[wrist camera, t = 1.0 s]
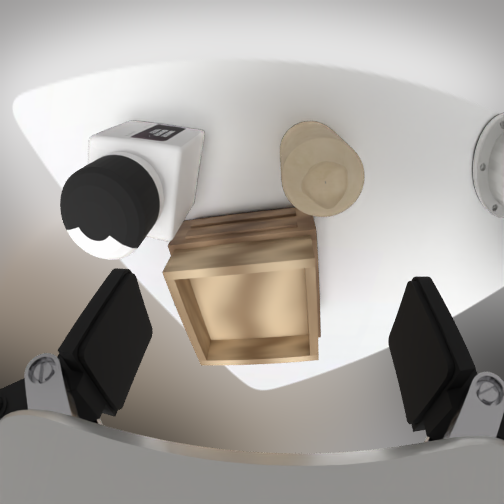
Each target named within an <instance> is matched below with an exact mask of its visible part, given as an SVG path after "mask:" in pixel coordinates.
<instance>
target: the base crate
mask: <svg viewBox="0 0 504 504" xmlns="http://www.w3.org/2000/svg"><path fill="white" fill-rule="evenodd" d="M309 235H311V240H312V245H313V251H314V256H315V270H316V289H317V315H318V337H321V329H320V292H319V269H318V250H317V234H316V227H315V222H314V218H313V216H312V215H308V214H306V213H304V212H302V211H300V210H298V209H297V208H296V207H291V208H282V209H273V210H264V211H256V212H247V213H239V214H231V215H223V216H215V217H208V218H200V219H193V220H186V221H183V223H182V224H181V226H180V228H179V229H178V231H177V233H176V234H175V236H174V238H173V240H171V241H170V243H169V244H168V248H169V251H170V254H171V255H172V253H173V251H174V250H177V249H186V248H195V247H204V246H213V245H222V244H232V243H241V242H250V241H260V240H269V239H279V238H289V237H299V236H309Z"/></svg>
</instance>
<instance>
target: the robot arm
mask: <svg viewBox="0 0 504 504" xmlns="http://www.w3.org/2000/svg"><path fill="white" fill-rule="evenodd" d="M473 180H474V186H475V190H476V193H477V196H478V198H479V200H480V201H481V203H482V205H483V206H484V207H485V208H486V209H487V210H488V211H489V212H490V213H492V214H493V215H495V216H497V217H500V218H504V113H502V114H499V115H497V116H496V117H495V118H493V119H492V120H491V121H490V122H489V123H488V124H487V126H486V127H485V128H484V130H483V132H482V134H481V136H480V138H479V141H478V143H477V146H476V150H475V154H474V162H473ZM151 337H152V326H151V323H150V320H149V317H148V314H147V311H146V308H145V305H144V302H143V299H142V295H141V292H140V289H139V285H138V282H137V278H136V276H135V274H133V273H132V272H131V271H130V270H129V269H114V270H112V271H111V273H110V274H109V275H108V277H107V278H106V280H105V281H104V282H103V284H102V285H101V286H100V288H99V289H98V291H97V292H96V294H95V295H94V296H93V298H92V299H91V301H90V302H89V304H88V305H87V307H86V308H85V310H84V311H83V312H82V314H81V315H80V317H79V318H78V320H77V321H76V323H75V324H74V326H73V327H72V329H71V330H70V332H69V333H68V335H67V337H66V338H65V340H64V341H63V343H62V345H61V346H60V348H59V349H58V351H59V355H58V357H56V356H55V355H53V354H50V353H44V354H40V355H38V356H36V357H35V358H33V359H32V360H31V361H30V362H29V364H28V365H27V367H26V370H25V378H24V379H22V380H20V381H17V382H15V383H13V384H11V385H8V386H6V387H4V388H2V389H0V504H504V382H503V381H502V380H501V378H500V377H498V376H497V375H495V374H493V373H491V372H482V373H479V374H477V372H476V369H475V365H474V363H473V361H472V358H471V356H470V354H469V351H468V349H467V347H466V345H465V343H464V341H463V338H462V336H461V334H460V332H459V330H458V328H457V326H456V324H455V322H454V320H453V318H452V316H451V314H450V312H449V310H448V308H447V306H446V305H445V303H444V301H443V299H442V297H441V295H440V293H439V292H438V290H437V288H436V286H435V284H434V283H433V281H432V279H431V278H430V277H414V278H413V279H412V281H409V282H408V283H407V286H406V289H405V292H404V295H403V298H402V301H401V304H400V307H399V310H398V313H397V316H396V319H395V322H394V324H393V327H392V330H391V332H390V335H389V348H390V352H391V355H392V359H393V363H394V367H395V370H396V374H397V378H398V382H399V387H400V391H401V395H402V400H403V404H404V409H405V413H406V418H407V422H408V423H409V424H412V428H413V432H414V431H420V430H426V434H427V438H426V440H425V441H424V443H419V444H412V445H406V446H399V447H391V448H384V449H376V450H366V451H355V452H341V453H316V454H315V453H313V454H286V453H284V454H283V453H259V452H245V451H234V450H224V449H216V448H208V447H200V446H194V445H187V444H182V443H176V442H171V441H165V440H160V439H156V438H151V437H146V436H142V435H138V434H134V433H130V432H126V431H122V430H118V429H114V428H110V427H107V426H104V425H102V422H101V420H100V416H101V414H102V413H104V414H108V415H111V416H116V413H117V411H118V410H120V409H121V408H122V407H123V405H124V402H125V399H126V397H127V395H128V392H129V390H130V387H131V384H132V382H133V380H134V377H135V375H136V373H137V370H138V367H139V365H140V363H141V361H142V358H143V356H144V353H145V351H146V349H147V346H148V344H149V342H150V339H151Z"/></svg>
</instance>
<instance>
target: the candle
mask: <svg viewBox="0 0 504 504" xmlns="http://www.w3.org/2000/svg"><path fill="white" fill-rule="evenodd" d="M280 162H281V180H282V186H283V190H284V192H285V195H286V197H287V198H288V200H289V201H290V202H291V204H292V205H294V206H295V207H296V208H297V209H298V210H300V211H302V212H304V213H306V214H308V215H312V216H317V217H327V216H333V215H336V214H339V213H341V212H343V211H345V210H346V209H348V208H349V207H350V206H351V205H352V204H353V203H354V202H355V201H356V200H357V198H358V197H359V195H360V193H361V191H362V188H363V184H364V169H363V165H362V162H361V160H360V158H359V156H358V155H357V153H356V152H355V151H354V150H353V149H352V148H351V147H350V146H349V145H348V144H347V143H346V142H345V141H344V140H343V139H342V138H340V137H339V136H338V135H337V134H336V133H335V132H334V131H333V130H331V129H330V128H329V127H327V126H326V125H324V124H322V123H319V122H314V121H306V122H301V123H299V124H296V125H294V126H293V127H291V128H290V129H289V130H288V131H287V132H286V134H285V135H284V137H283V139H282V141H281V145H280Z"/></svg>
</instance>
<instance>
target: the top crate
mask: <svg viewBox="0 0 504 504" xmlns="http://www.w3.org/2000/svg"><path fill="white" fill-rule="evenodd" d="M162 273H163V275H164V278H165V281H166V283H167V286H168V288H169V291H170V293H171V296H172V298H173V301H174V303H175V306H176V308H177V311H178V313H179V316H180V318H181V320H182V323H183V325H184V328H185V330H186V332H187V335H188V337H189V339H190V341H191V344H192V346H193V348H194V350H195V353H196V355H197V357H198V359H199V361H200V364H201V365H250V364H271V363H287V362H300V361H312V360H318V315H317V289H316V270H315V256H314V251H313V245H312V240H311V235H309V236H299V237H289V238H279V239H269V240H260V241H250V242H241V243H232V244H222V245H213V246H204V247H195V248H186V249H177V250H174V251H173V253H172V255H171V257H170V259H169V261H168V263H167V264H166V266H165V268H164V270H163V272H162Z"/></svg>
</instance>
